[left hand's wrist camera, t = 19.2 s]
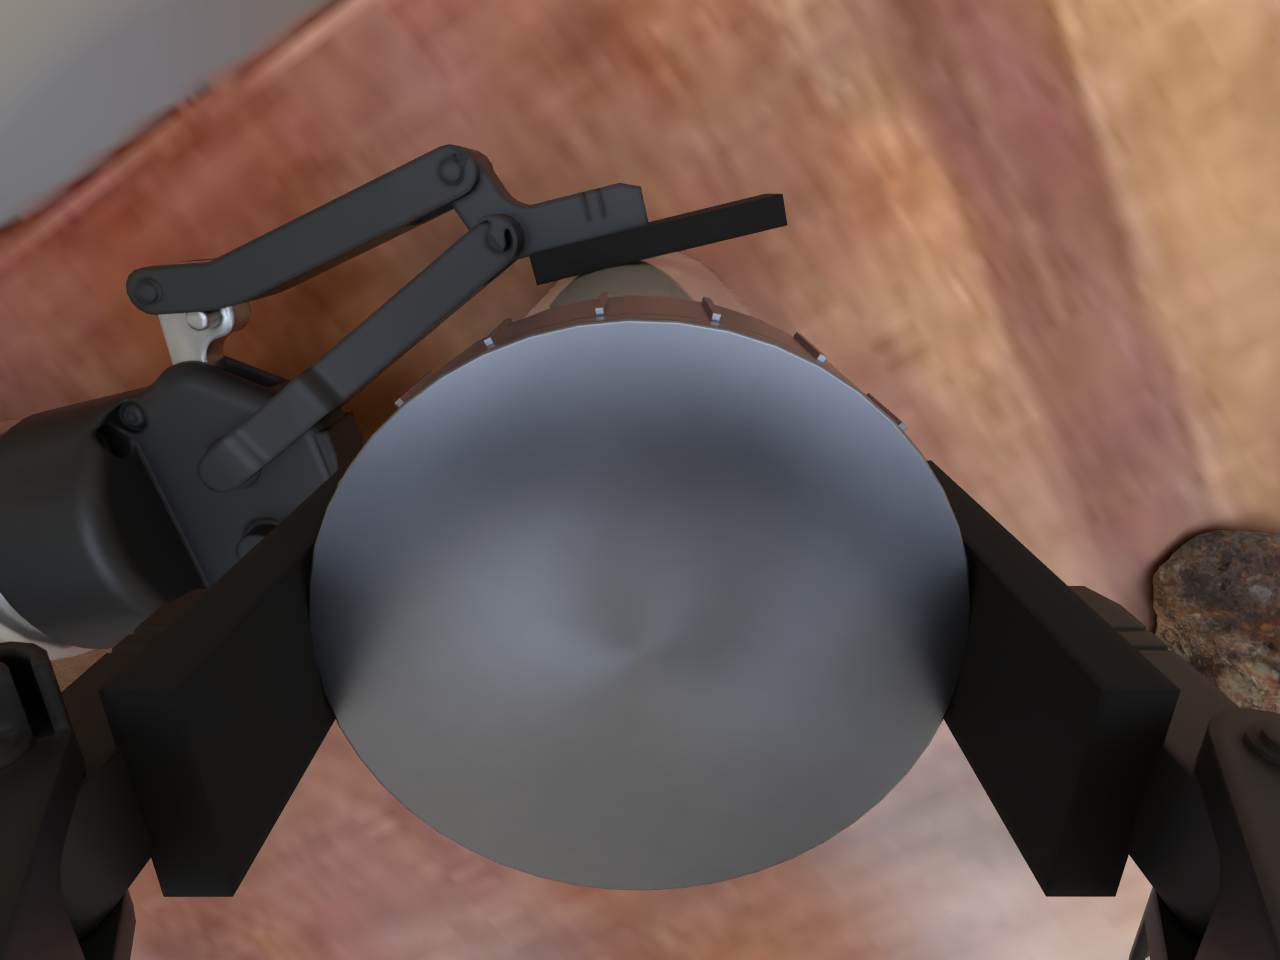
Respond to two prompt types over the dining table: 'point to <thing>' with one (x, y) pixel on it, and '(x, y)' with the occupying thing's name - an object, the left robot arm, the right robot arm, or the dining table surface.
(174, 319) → the right robot arm
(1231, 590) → the rock
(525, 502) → the lid
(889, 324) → the dining table surface
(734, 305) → the jar
